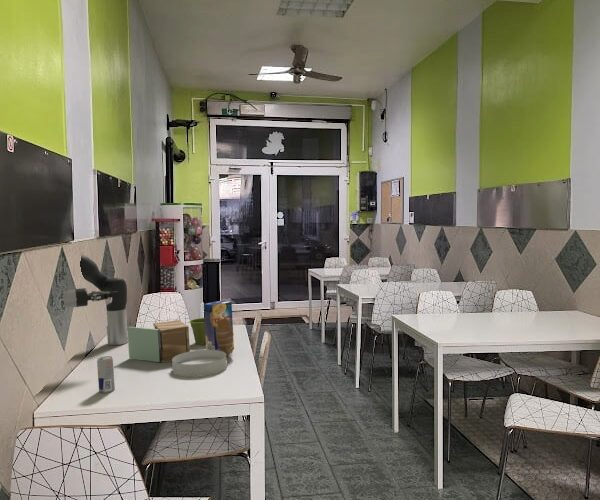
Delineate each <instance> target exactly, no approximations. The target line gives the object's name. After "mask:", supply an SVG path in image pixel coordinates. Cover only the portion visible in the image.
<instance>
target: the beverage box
mask: <svg viewBox="0 0 600 500" xmlns="http://www.w3.org/2000/svg"><path fill="white" fill-rule="evenodd" d="M232 305H233V304H232V301H227V300H219V301H213V302H208V303H203V314H204V316H203V318H204V319H205V338H206V343H205V350H218V351H220V349H219V347H218V343H217V338H216V327H217V322H218V320H219V319H220V318H222V316H223V315H224V316H225V317H226V318H228V319H229V320H230V323H231V326H232V327H233V328H234V324H233V323H234V322H233V306H232ZM234 343H235V341H234V339H233V343H232V348H231V349H230V350H234V349H235V345H234Z"/></svg>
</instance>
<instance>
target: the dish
mask: <svg viewBox="0 0 600 500" xmlns="http://www.w3.org/2000/svg"><path fill="white" fill-rule="evenodd" d="M171 362H172V363H171V364H172V365H171V369H172V373H173V374H174V375H175V376H180V377H189V378H190V377H193V378H194V377H203V376H210V375H214V374H218V373H221V372H222V371H224V370H226V369H227V368H228V360H227V356H226V353H225V352H222V351H218V350H206V349H202V350H201V349H200V350H190V352H186V353H182V354H179V355H177V356H175V357H173V359H172V361H171Z"/></svg>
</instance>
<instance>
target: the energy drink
mask: <svg viewBox="0 0 600 500" xmlns="http://www.w3.org/2000/svg"><path fill="white" fill-rule="evenodd" d="M96 362H97V363H96V365H97V366H96V367H97V368H96V369H97V379H98V380H97V382H98V392H99V393H100V394H108V393H112V392H113V390H115V389H116V388H115V387H116V386H115V385H116V384H115V371H114V359H113V356H111V355H106V356H105V355H103V356H100V357H98V358H97V359H96ZM111 391H112V392H111ZM107 392H108V393H107Z"/></svg>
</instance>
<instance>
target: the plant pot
mask: <svg viewBox="0 0 600 500" xmlns="http://www.w3.org/2000/svg"><path fill="white" fill-rule="evenodd" d="M188 322H189V323H190V326H191V329H192V334H193V337H194V343H195V344H197V345H204V344H205V345H206V338H205V319H204V317H200V318H194V319H190V320H189V321H188Z"/></svg>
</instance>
